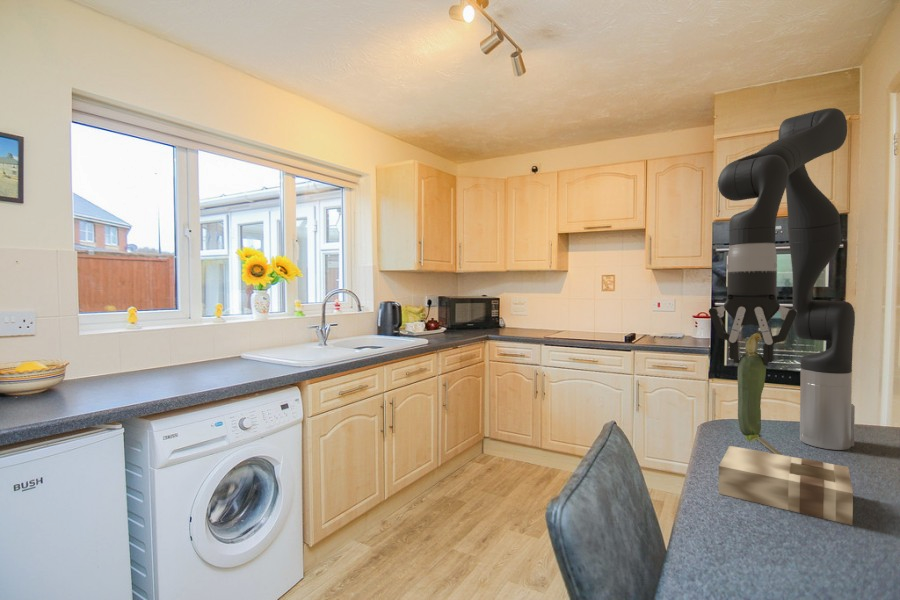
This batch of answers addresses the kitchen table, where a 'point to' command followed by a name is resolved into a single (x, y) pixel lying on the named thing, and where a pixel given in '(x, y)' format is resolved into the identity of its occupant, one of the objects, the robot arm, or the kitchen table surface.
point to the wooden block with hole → (788, 483)
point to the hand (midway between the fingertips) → (750, 363)
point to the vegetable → (750, 389)
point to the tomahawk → (768, 446)
